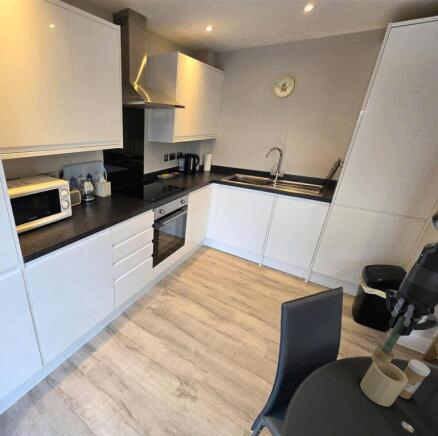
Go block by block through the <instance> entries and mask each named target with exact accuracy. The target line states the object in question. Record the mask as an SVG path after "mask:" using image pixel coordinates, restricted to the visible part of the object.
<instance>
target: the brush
mask: <svg viewBox="0 0 438 436" xmlns="http://www.w3.org/2000/svg"><path fill="white" fill-rule="evenodd" d="M405 316H406V315H404V316H402V315H401V316H400V317H399V319H398V320H397V322H396V324H395V325H394V327H393V329H392V328H391V330H390V332H389V334H388V336H387V338H386V339H385V341H384V342H383V344H382V345H380V344H379V345H377V346H376V347H375V349H374V351H373V352H372V354H371V356H370V359H371V360H372V363H373V362H375V363H376V364H377V365H379V366H381V367H388V365H389V364H390V363H391V362H392V361H393V359H394V357H395V354H394V352H393V351H392V350H394V347H395V346H396V345H397V342H398V340H399V339H400V337H401V336H400V335H399V334H398V331H399V330H400V328H401V326H402V324H404V322H405V320H406V317H405Z"/></svg>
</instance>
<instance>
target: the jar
mask: <svg viewBox="0 0 438 436" xmlns="http://www.w3.org/2000/svg"><path fill="white" fill-rule="evenodd" d="M403 372H404V371H403V370H402V369H400V368H399V367H398V366H396V365H395V364H393V363H391V362H390V364H389V365H388V367H381V366H379V365H377V364H376V363H375V362H373V361H372V363H371V365H370V366H369V368H368V370H367V371H366V372H365V374H364V375H363V378H362V379H361V382H360V384H359V385H360V388H361V391H362V392H363V394H364V395H365V396H366V397H367V398H368V399H370V400H371V402H374V403H375V404H376V405H379V406H382V407H391V406H392V405H393V404H394V403H395V401H396V400H397V398H398V397H399V394H400V393H401V391H402V390H403V388H404V387H405V386H406V384H407V382H408V379H407V377H406V375H405V374H404V373H403Z"/></svg>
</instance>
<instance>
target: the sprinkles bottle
mask: <svg viewBox="0 0 438 436" xmlns="http://www.w3.org/2000/svg"><path fill="white" fill-rule="evenodd" d="M402 372H403V373H404V374H405V375H406V377H407V379H408V382H407V384H406V386H405V387H404V388H403V390H402V391H401V393H400V394H399V395H398V397H400V398H403V399H406V400H409V399H411V398H412V395H414V393H415V392H416V391H417V390H418V388H419V387H420V385H421V384H422V383H423V382H424V380H425V378H426V377H428V376H429V375H430V373H431V369H430V368H429V366H427V364H425V363H424V362H422V361H420V360H417V359H410V360H409V362H408V363H407V366H406V367H405V369H403V371H402Z"/></svg>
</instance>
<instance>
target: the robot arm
mask: <svg viewBox="0 0 438 436" xmlns="http://www.w3.org/2000/svg"><path fill="white" fill-rule="evenodd" d="M430 224H431V226H432V227H433V229H434V230H435V231H437V232H438V211H435V212H434V213H433V214H432V216H431V218H430ZM384 292H385V293H384V294H385V303H386V304H385V305H386V310H387V311H388V312H390V313H391V317H390V319H389V321H388V327H389V328H390V329H391V330H392V329H393V327H394V325H395V324H396V322H397V320H398V319H399V317H400V316H401V315H402V316H405V317H406V320H405V322H404V324H402V326H401V328H400V330H399V331H398V334H399V335H400V337H409V336H410V335H411V334H412V332H413V331H426V330H430V329H434V328H437V327H438V317H436V315H435V312H436V307H437V305H438V241H436V242H429V243H426V244H425V245H423V247H422V249H421V250H420V252H419V253H418V255H417V257H416V259H415V261H414V262H413V264H412V265H411V266H410V267H409V269H408V271H407V273H406V274H405V276H404V278H403V280H402V282H401V284H400V285H399V289H397V290H395V289H386V290H385V291H384ZM424 317H426V318H425V319H424V321H422V319H423V318H424ZM420 321H422V322H420Z"/></svg>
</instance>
